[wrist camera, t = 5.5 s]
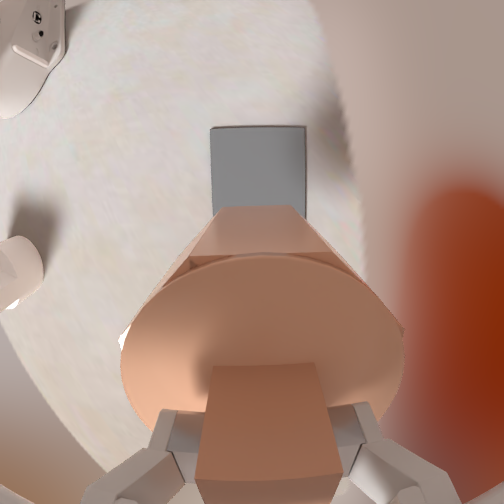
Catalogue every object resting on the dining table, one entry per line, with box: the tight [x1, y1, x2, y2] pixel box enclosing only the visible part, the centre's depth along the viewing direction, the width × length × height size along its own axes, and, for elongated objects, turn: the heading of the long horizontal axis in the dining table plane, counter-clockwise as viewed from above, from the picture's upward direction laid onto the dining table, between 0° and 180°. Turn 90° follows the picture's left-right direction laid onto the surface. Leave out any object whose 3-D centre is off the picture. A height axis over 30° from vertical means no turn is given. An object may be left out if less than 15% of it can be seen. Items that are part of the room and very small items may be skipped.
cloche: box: [119, 205, 404, 504], centre depth 12 cm, size 10×10×14 cm
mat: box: [210, 127, 305, 219], centre depth 32 cm, size 14×10×1 cm
